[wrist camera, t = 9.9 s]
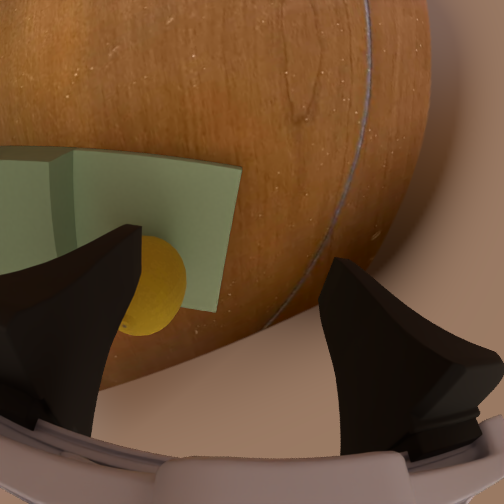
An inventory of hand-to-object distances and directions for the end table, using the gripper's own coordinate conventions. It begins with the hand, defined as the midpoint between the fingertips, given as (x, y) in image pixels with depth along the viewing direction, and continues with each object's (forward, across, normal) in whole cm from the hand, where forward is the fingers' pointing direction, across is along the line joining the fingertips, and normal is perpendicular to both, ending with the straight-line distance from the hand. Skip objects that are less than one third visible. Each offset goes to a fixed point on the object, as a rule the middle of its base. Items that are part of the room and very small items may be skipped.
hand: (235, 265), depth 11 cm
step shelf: (+10, +20, +5) cm, 23 cm away
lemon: (+10, +5, +6) cm, 13 cm away
